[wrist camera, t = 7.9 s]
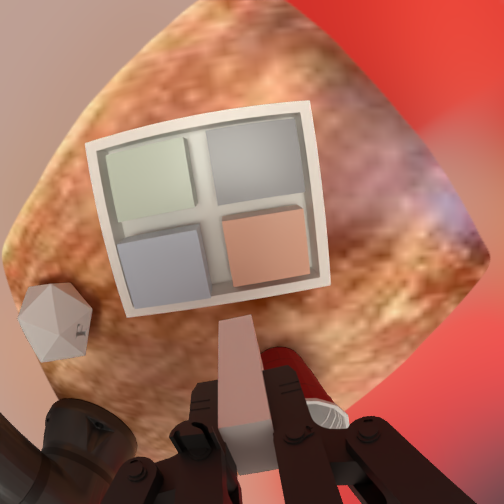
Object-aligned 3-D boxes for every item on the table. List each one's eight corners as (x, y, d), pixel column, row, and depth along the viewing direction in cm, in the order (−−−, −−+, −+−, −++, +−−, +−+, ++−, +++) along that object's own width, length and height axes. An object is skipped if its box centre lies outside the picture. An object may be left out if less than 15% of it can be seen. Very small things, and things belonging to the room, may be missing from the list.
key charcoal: (218, 201, 27) (217, 205, 24) (207, 133, 25) (205, 130, 23) (298, 189, 27) (305, 192, 25) (288, 121, 25) (294, 118, 23)
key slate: (141, 297, 29) (135, 309, 26) (125, 237, 27) (116, 244, 25) (212, 286, 29) (210, 298, 27) (199, 223, 27) (196, 229, 25)
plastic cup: (222, 391, 37) (222, 465, 25) (246, 320, 34) (255, 392, 23) (301, 403, 39) (321, 472, 27) (333, 338, 36) (370, 404, 24)
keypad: (136, 300, 33) (126, 317, 29) (101, 144, 28) (84, 143, 24) (319, 271, 33) (330, 285, 29) (299, 107, 28) (309, 100, 24)
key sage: (127, 217, 28) (118, 222, 26) (115, 155, 27) (105, 155, 24) (197, 203, 28) (195, 207, 26) (186, 139, 27) (182, 136, 24)
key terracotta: (233, 276, 31) (233, 287, 28) (222, 216, 29) (221, 221, 26) (303, 264, 31) (310, 273, 28) (296, 204, 29) (303, 208, 27)
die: (79, 347, 35) (96, 380, 27) (15, 335, 29) (13, 367, 21) (90, 284, 36) (109, 300, 28) (24, 268, 30) (22, 281, 22)
